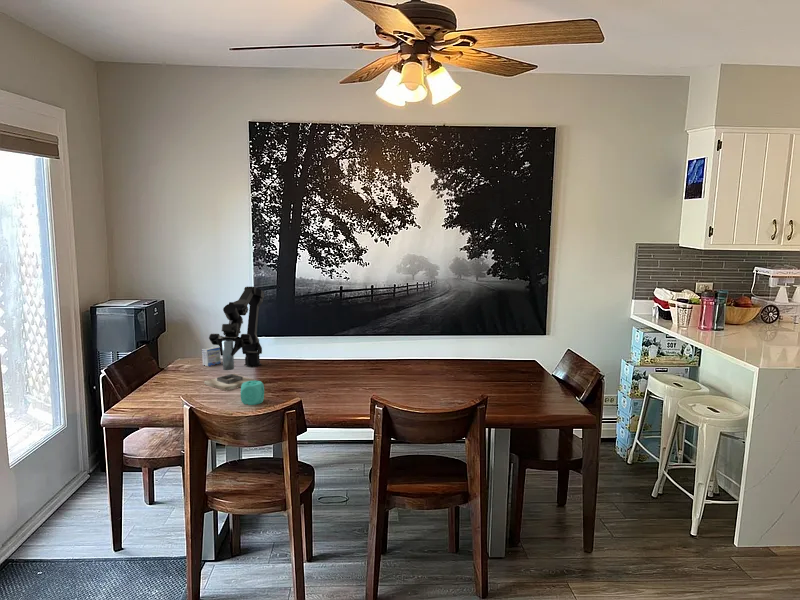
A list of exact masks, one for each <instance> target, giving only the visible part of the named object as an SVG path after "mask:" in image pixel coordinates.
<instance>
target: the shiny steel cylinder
mask: <svg viewBox="0 0 800 600" xmlns="http://www.w3.org/2000/svg"><path fill="white" fill-rule="evenodd" d="M233 348H234V341H233V340H222V356H221V357H222V370H223V371H232V370H234V369H235V359H234V358H235V357H234V356H235V355H234V356H232V351H233Z"/></svg>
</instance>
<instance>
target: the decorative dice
mask: <svg viewBox="0 0 800 600" xmlns="http://www.w3.org/2000/svg"><path fill="white" fill-rule="evenodd" d="M264 398H265V385H264V382H262V381H261V380H255V381H247V382H244V383H243V384H242V386H241V387H240V400H241V403H242V404H243V405H246V404H248V405H247V406H256V405H260V404H262V403H263V401H265V399H264Z"/></svg>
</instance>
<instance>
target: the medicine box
mask: <svg viewBox="0 0 800 600" xmlns="http://www.w3.org/2000/svg"><path fill="white" fill-rule="evenodd" d="M201 356H202V366H204V365H205V366H204V367H208V366H209V367H212V366H211V365H213V366H216V365H215V364H217V365H220V364H221V363H222V362H221V360H222V359H221V354H220V346H211V347H207V348H201Z"/></svg>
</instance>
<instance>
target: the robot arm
mask: <svg viewBox="0 0 800 600" xmlns="http://www.w3.org/2000/svg"><path fill="white" fill-rule="evenodd" d="M264 298H265V292H264V291H263V290H262V289H261V288H260V289H259V288H257V287H256V286H245V287H244V289H243V292H242V293H241V295H240V297H239V298H238V299H237V300H234V301H229V303H227V304H225V306H223V309H222V310H223V314H224V316H225V317H226V319H227V320H228V321H229V322H228V323H222V324H221V332H223V335H220V334H219V333H210V334H209V337H208V339H209V341H210V343H211V344H212V345H213V346H218V347H220V357H222V340H233V342H234V344H233V351H232V356H235V355H236V354H237V353H238V351H239V350H240V349H241V352H242V354H243V355H245V357H244V362H245V363H243V366H245V365H247V366H246V367H249V366H251V367H250V368H254V367H257V365H258V366H262V363H261V360H260V355H261V354H262V353H263V347H262V345H261V343H260V339H259V337H258V335H257V334H258V333H257V332H258V322H259V310H260V307H261V305H262V304H263V301H264ZM248 306H249V307H248ZM247 314H248V321H247V330H246V331H247V332H246V333H242V334H241V328H242V324H244V321H243V319H244V318H243V317H242V316H246V315H247ZM239 335H240V336H239ZM253 366H254V367H253Z"/></svg>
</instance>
